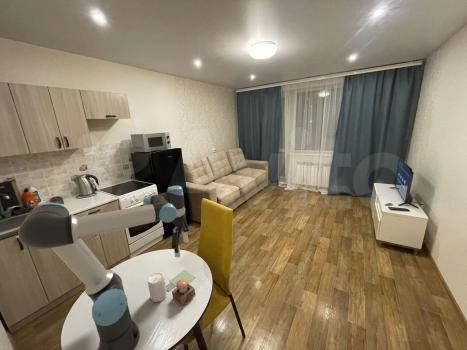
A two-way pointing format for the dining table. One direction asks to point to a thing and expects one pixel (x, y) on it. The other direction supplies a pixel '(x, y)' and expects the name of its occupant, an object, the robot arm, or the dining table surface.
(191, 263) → the dining table surface
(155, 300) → the beverage can
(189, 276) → the pad
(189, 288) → the housing
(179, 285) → the plunger
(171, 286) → the pad
